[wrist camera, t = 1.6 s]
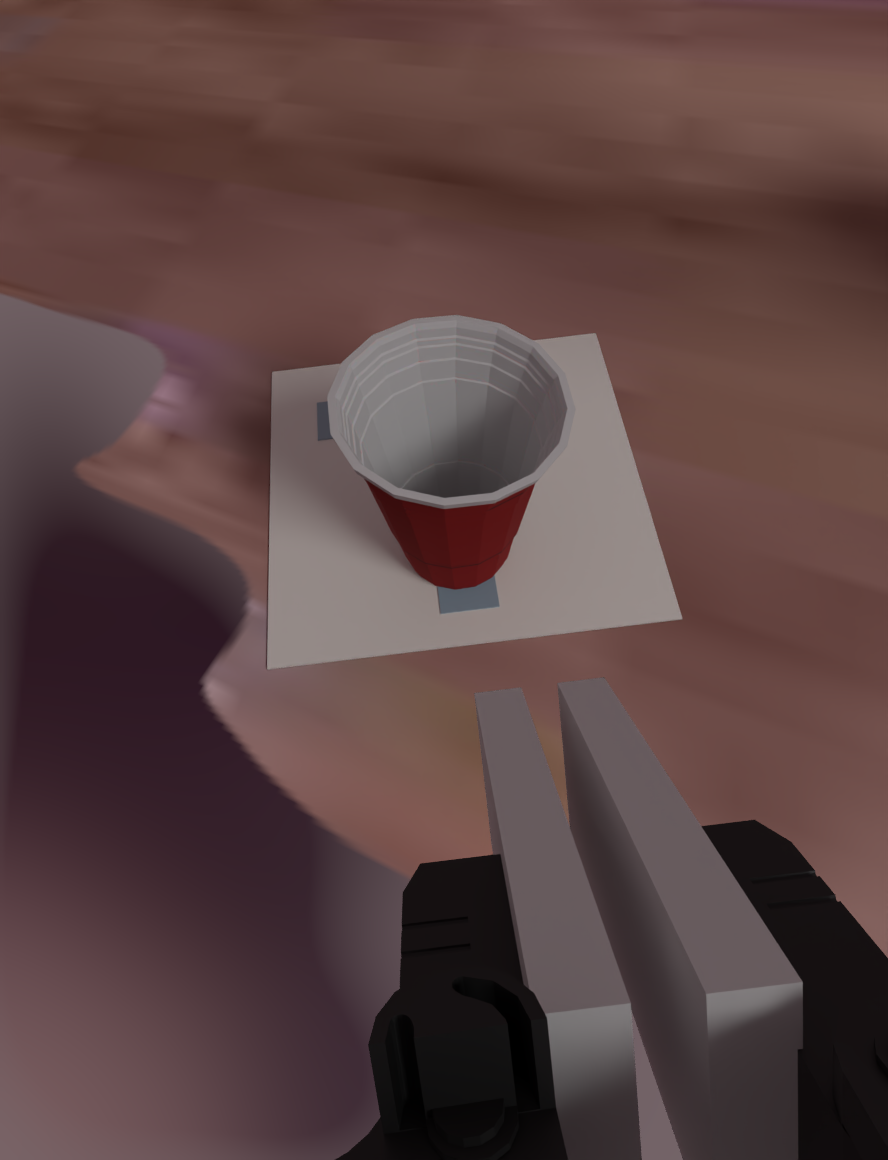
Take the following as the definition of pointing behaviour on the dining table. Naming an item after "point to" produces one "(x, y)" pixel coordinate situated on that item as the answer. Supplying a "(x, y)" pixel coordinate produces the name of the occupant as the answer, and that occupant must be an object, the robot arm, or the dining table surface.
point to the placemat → (470, 615)
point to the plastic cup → (451, 437)
